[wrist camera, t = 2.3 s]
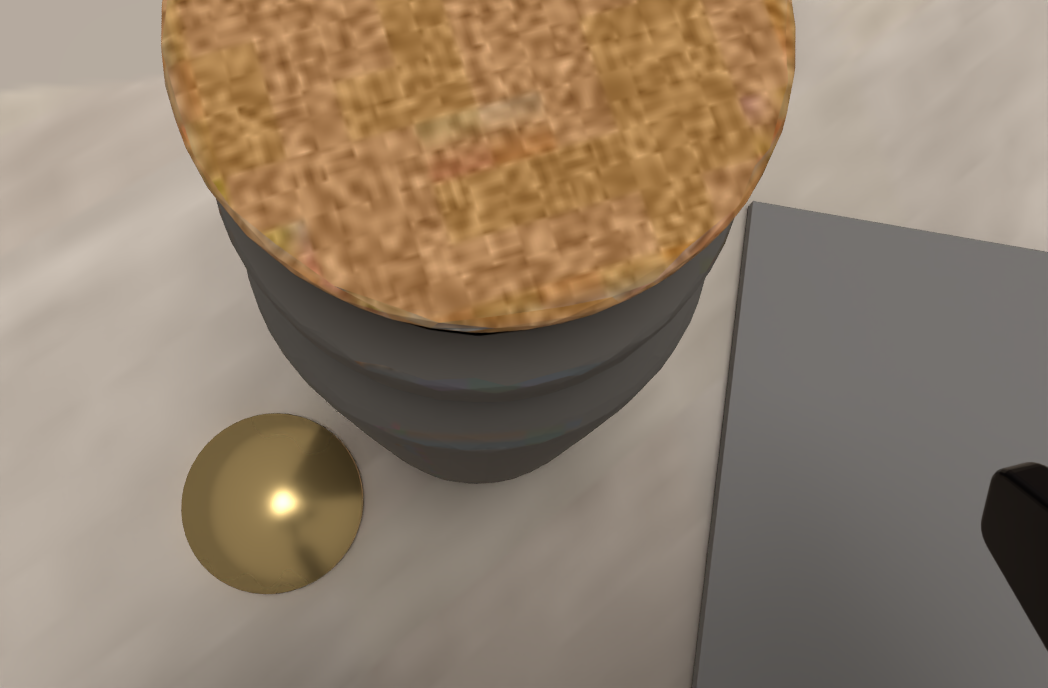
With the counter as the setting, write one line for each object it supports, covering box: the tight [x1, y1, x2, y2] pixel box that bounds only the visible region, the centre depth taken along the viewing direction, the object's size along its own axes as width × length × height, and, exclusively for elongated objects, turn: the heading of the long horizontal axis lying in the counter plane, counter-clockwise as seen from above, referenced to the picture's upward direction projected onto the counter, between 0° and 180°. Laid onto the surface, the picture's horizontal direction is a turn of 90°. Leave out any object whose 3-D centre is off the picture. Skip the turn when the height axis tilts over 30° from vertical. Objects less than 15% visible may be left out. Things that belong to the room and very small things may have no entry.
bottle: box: [161, 0, 795, 484], centre depth 14 cm, size 6×6×15 cm
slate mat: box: [692, 201, 1048, 688], centre depth 21 cm, size 12×12×1 cm
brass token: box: [181, 413, 363, 594], centre depth 20 cm, size 4×4×1 cm
